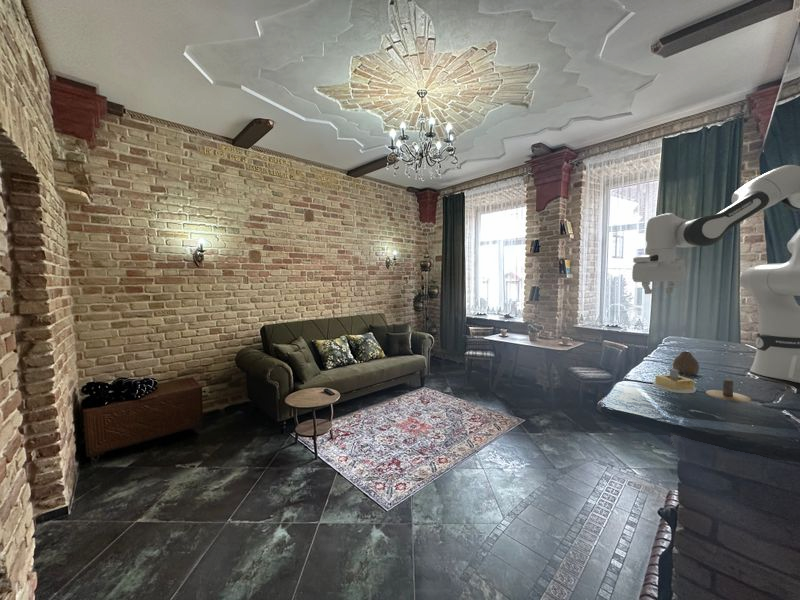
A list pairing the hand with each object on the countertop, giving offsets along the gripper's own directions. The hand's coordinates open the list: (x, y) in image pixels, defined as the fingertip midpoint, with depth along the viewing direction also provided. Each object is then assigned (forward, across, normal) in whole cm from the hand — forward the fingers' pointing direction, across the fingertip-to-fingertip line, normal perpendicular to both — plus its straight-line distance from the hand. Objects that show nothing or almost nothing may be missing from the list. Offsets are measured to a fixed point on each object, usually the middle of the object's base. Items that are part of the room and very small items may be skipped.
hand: (658, 293), depth 121 cm
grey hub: (+29, +19, +23) cm, 41 cm away
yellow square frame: (+27, +19, +23) cm, 40 cm away
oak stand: (+29, +11, +32) cm, 44 cm away
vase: (+29, +1, +11) cm, 31 cm away
